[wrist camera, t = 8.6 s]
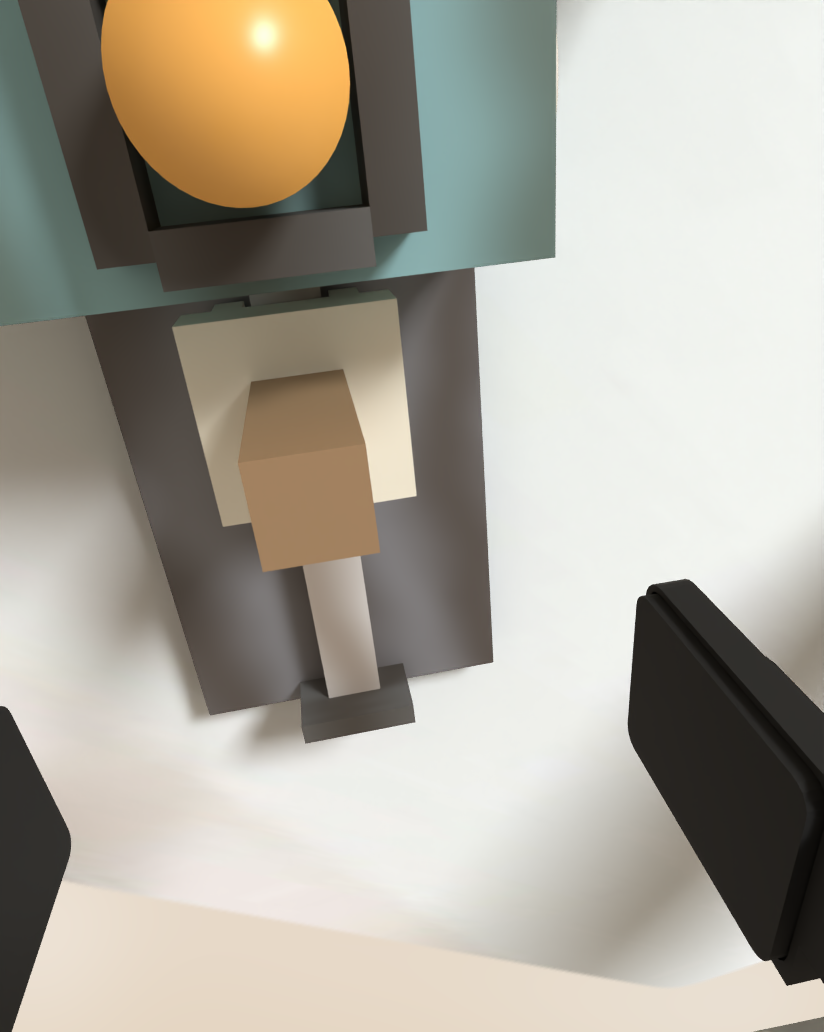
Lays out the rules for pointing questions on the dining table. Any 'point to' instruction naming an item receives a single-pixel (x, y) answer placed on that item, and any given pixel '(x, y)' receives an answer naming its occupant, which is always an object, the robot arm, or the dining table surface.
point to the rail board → (409, 529)
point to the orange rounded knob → (228, 92)
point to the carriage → (302, 419)
